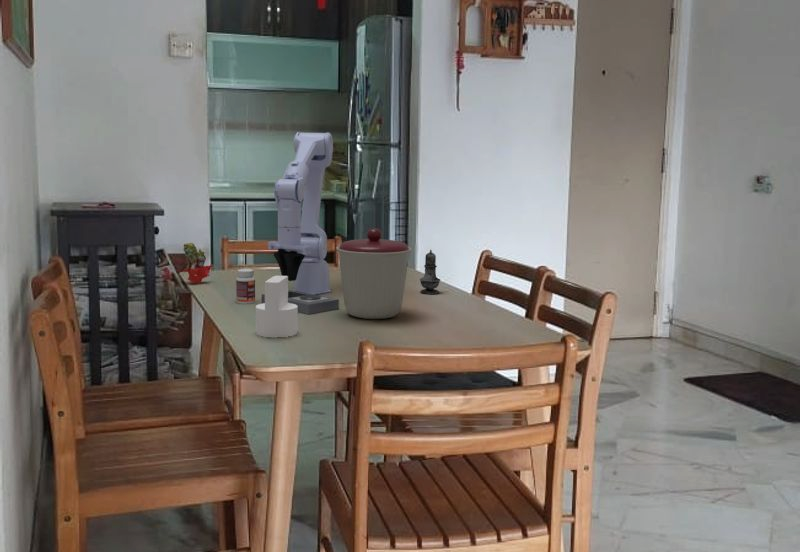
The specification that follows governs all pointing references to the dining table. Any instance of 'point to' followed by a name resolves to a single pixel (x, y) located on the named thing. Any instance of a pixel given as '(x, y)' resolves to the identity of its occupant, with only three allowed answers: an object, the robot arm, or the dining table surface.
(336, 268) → the dining table surface
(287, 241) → the robot arm
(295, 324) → the base with upright slab
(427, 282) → the salt shaker
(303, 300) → the socket strip
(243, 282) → the pill bottle
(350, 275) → the canister
